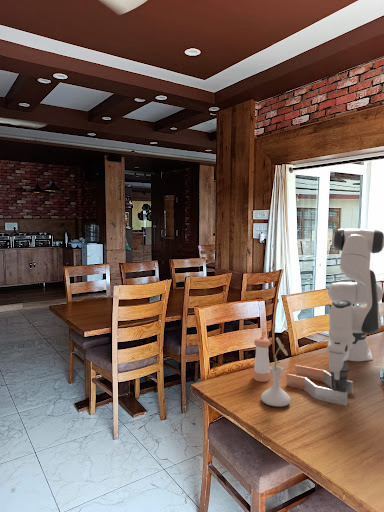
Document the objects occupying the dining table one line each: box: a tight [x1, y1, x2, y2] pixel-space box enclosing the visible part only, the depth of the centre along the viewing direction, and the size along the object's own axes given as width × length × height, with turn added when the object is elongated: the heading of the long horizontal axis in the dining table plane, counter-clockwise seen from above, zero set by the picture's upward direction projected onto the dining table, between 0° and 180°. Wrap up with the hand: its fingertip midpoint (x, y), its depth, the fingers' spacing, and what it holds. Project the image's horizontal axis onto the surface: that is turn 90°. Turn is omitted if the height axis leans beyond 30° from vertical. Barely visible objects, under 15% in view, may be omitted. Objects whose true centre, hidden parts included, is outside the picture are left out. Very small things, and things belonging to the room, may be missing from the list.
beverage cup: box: [330, 361, 350, 392], centre depth 152 cm, size 7×7×20 cm
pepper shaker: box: [253, 336, 271, 382], centre depth 170 cm, size 7×7×19 cm
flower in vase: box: [260, 337, 292, 408], centre depth 148 cm, size 13×11×25 cm
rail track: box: [286, 364, 354, 407], centre depth 160 cm, size 19×25×5 cm
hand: (339, 375), depth 152 cm, fingers closed on beverage cup, 7 cm apart
